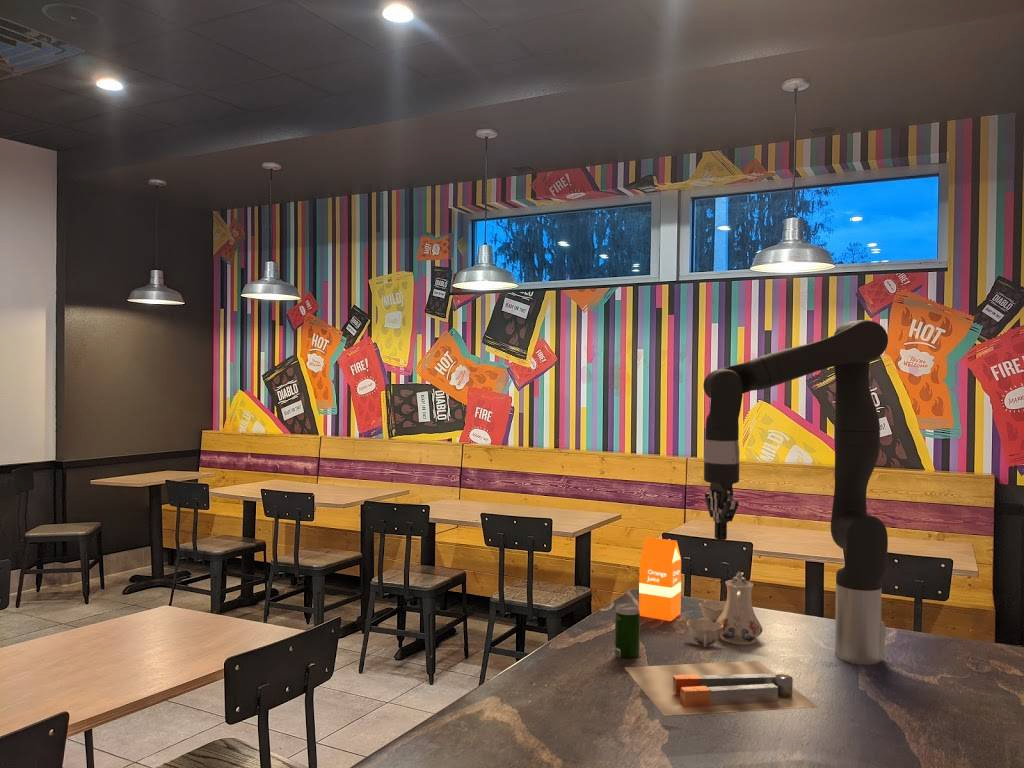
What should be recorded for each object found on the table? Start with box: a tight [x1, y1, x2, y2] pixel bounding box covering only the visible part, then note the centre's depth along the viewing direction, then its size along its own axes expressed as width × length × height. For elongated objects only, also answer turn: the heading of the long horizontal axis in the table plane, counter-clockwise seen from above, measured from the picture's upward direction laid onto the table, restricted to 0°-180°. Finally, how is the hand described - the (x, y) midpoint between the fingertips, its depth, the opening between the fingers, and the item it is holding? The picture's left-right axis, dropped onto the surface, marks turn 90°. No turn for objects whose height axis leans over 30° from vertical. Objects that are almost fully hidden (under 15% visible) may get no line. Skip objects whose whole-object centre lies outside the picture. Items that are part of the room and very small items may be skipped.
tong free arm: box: [673, 673, 794, 697], centre depth 152 cm, size 23×4×3 cm, turn 95°
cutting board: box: [623, 660, 819, 717], centre depth 158 cm, size 30×24×2 cm
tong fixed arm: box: [681, 684, 778, 708], centre depth 149 cm, size 18×2×3 cm, turn 99°
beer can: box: [614, 603, 641, 660], centre depth 175 cm, size 5×5×12 cm
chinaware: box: [686, 571, 764, 648], centre depth 192 cm, size 28×17×17 cm, turn 162°
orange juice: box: [638, 536, 682, 622], centre depth 209 cm, size 8×9×20 cm
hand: (720, 539), depth 175 cm, fingers closed
